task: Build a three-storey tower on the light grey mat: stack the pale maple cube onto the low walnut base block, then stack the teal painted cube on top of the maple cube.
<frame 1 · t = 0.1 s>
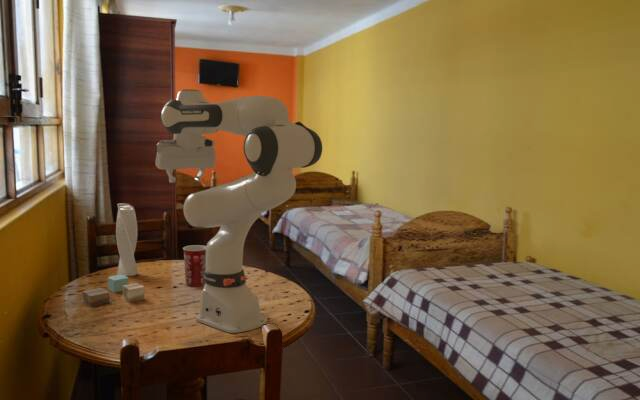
hand: (185, 181, 165), 39 cm above the table, tool pointing down, fingers open, 8 cm apart
teal block: (118, 291, 172), on the table
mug: (195, 285, 181), on the table
maple block: (133, 300, 163), on the table
walnut base: (96, 300, 160), point 1 cm above the table, touching mat
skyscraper: (127, 275, 190), on the table
mat: (96, 302, 160), on the table
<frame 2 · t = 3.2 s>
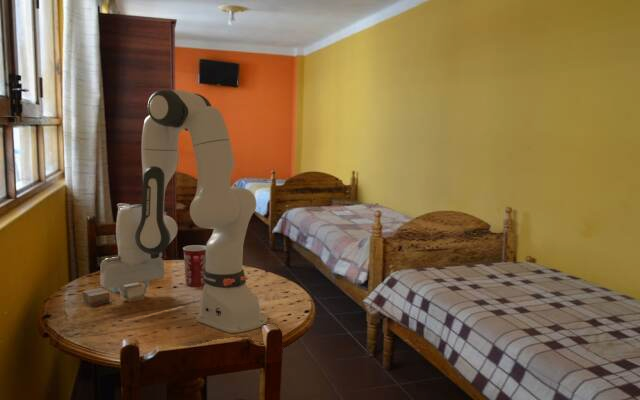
hand: (133, 295, 163), 2 cm above the table, tool pointing down, fingers closed on maple block, 5 cm apart
maple block: (133, 300, 163), on the table, touching gripper
everything else where it was.
when the fingers open (6 cm above the table, at t = 8.0 s): maple block stays where it is, resting on walnut base.
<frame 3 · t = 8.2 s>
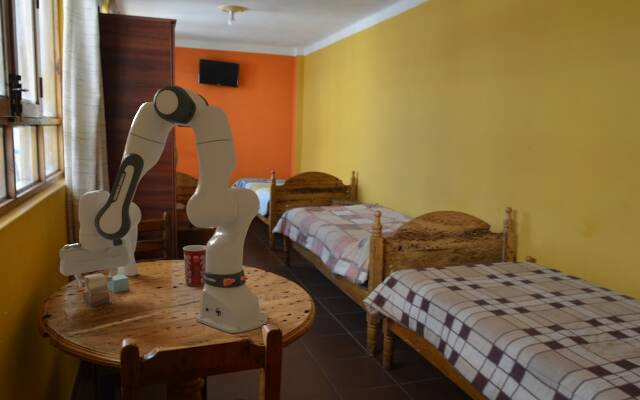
hand: (95, 283, 159), 6 cm above the table, tool pointing down, fingers open, 7 cm apart
maple block: (96, 291, 159), point 4 cm above the table, touching walnut base
walnut base: (96, 300, 160), point 1 cm above the table, touching maple block, mat
everything else where it was.
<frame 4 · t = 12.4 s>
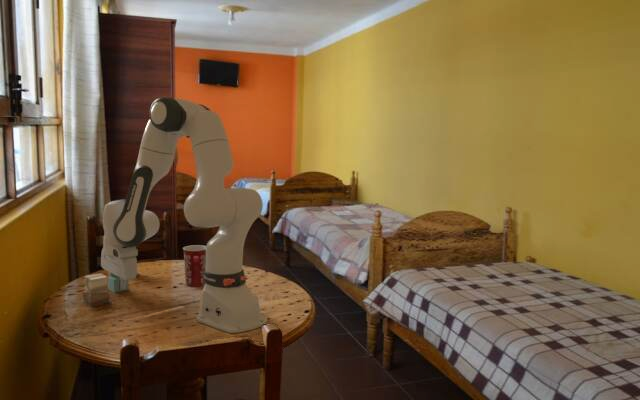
hand: (118, 286, 171), 2 cm above the table, tool pointing down, fingers closed on teal block, 5 cm apart
teal block: (118, 291, 172), on the table, touching gripper
everything else where it was.
when the fingers open (11 cm above the table, at t = 17.1 s): teal block drops 1 cm, resting on maple block.
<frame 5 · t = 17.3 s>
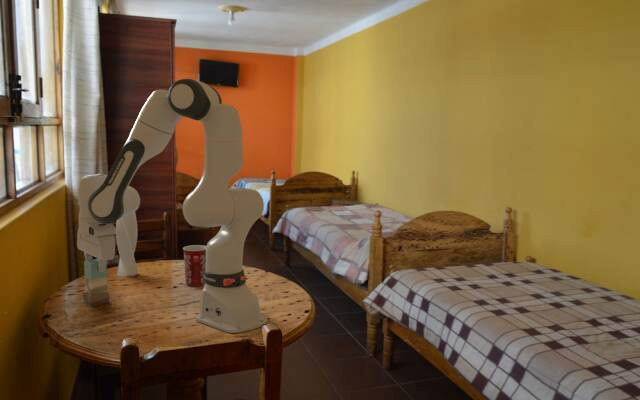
hand: (95, 268, 158), 11 cm above the table, tool pointing down, fingers open, 7 cm apart
teal block: (95, 276, 159), point 9 cm above the table, touching maple block
maple block: (96, 291, 159), point 4 cm above the table, touching teal block, walnut base
everything else where it was.
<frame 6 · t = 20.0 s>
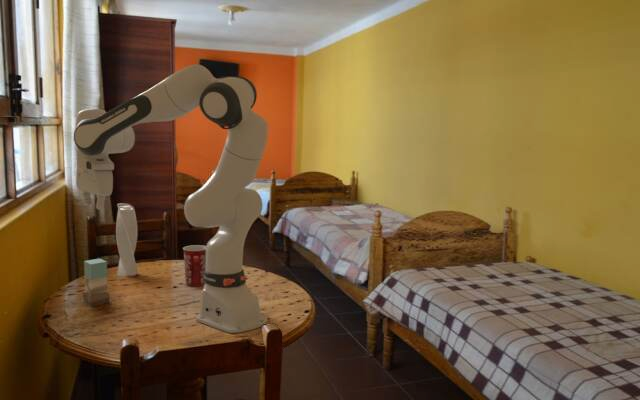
hand: (93, 206, 155), 31 cm above the table, tool pointing down, fingers open, 8 cm apart
nothing on the table moved.
at the end: maple block 0.1 cm off-centre on the walnut base, point 3.0 cm above the walnut base's base; teal block 0.1 cm off-centre on the maple block, point 5.0 cm above the maple block's base; the gripper is holding nothing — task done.
